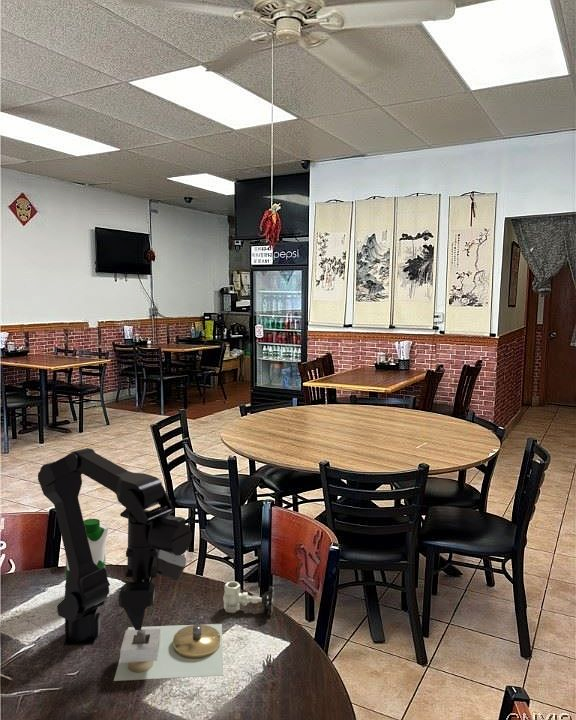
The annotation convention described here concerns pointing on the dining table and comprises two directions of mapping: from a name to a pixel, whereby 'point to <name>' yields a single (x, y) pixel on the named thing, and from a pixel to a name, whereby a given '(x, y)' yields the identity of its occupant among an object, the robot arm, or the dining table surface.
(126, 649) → the square ring
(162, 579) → the dining table surface
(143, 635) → the stand
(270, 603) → the valve
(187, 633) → the bell
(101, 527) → the milk carton
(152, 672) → the mat
